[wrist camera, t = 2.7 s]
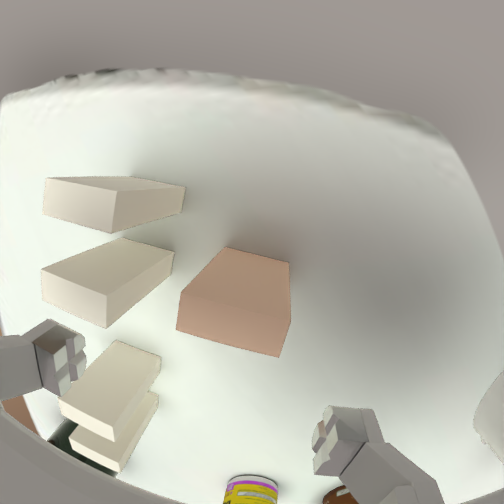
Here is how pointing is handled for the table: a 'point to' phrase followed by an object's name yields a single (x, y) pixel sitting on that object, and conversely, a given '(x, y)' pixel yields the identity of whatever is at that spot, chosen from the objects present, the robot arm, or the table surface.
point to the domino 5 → (239, 302)
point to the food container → (339, 496)
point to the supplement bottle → (251, 491)
